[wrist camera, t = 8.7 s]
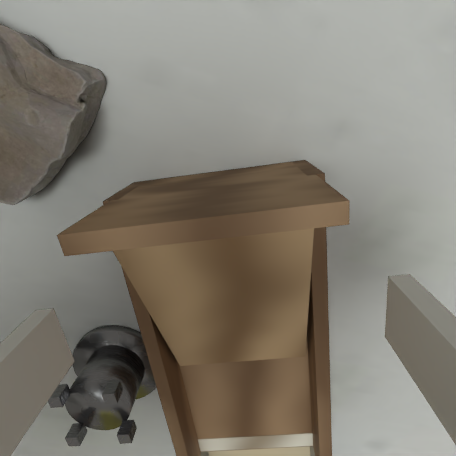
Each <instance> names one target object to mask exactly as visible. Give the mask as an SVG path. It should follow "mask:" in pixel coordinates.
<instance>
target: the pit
mask: <svg viewBox="0 0 456 456" xmlns="http://www.w3.org/2000/svg"><path fill="white" fill-rule="evenodd" d="M200 456H315V453H314V448H313V446H309V447H289V448H269V449H249V450H229V451H209V452H201V455H200Z"/></svg>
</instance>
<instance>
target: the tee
mask: <svg viewBox="0 0 456 456" xmlns="http://www.w3.org/2000/svg"><path fill="white" fill-rule="evenodd" d="M73 358H74V363H73V367H74V371H75V373H76V375H77V376H78V377H77V378H76V380H75V382H74V383H73V385H72V386H71V388H70V389H69V387H68V384H62V385H58V386H57V388H56V389H55V391H54V392H53V394H52V395H51V397H50V398H49V400H48V403H49V405H50V407H51V408H54V407H63V406H64V404H65V406H66V409H67V411H68V413H69V414H70V415H71V416H72V418H74V419H75V420H76V421H77V422H79V423H76V424H73V425H72V426H71V428H70V430H69V432H68V434H67V436H66V437H65V439H66V441H67V443H68V445H69V446H80V445H81V443H82V441H83V439H84V437H85V435H86V433H87V429H86V427H89V428H92V429H97V430H110V429H115V428H117V427H120V429H119V431H118V434H117V437H118V439H119V442H120V444H121V443H132V440H133V437H134V435H135V432H136V429H137V428H136V425H135V422H134V420H127V419H128V417H129V415H130V412H131V409H132V407H133V404H134V401H135V399H139V398H141V397H144V396H146V395H148V394H149V393H151V392H152V391H153V390H154V389H155V388H156V383H155V380H154V376H153V373H152V370H151V366H150V363H149V359H148V356H147V352H146V349H145V345H144V342H143V339H142V335H141V333H140V332H138V331H135V330H133V329H130V328H127V327H122V326H104V327H99V328H96V329H94V330H92V331H90V332H88V333H87V334H86V335H85V336H84V337H83V338H82V339H81V340H80V342H79V343H78V344H77V346H76V348H75V350H74V352H73ZM85 426H86V427H85Z"/></svg>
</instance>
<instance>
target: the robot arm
mask: <svg viewBox="0 0 456 456" xmlns="http://www.w3.org/2000/svg"><path fill="white" fill-rule="evenodd" d="M385 337H386V339H387V340H388V342H389V343H390V345H391V346H392V348H393V350H394V351H395V353H396V354H397V356H398V357H399V359H400V360H401V362H402V363H403V365H404V366H405V368H406V369H407V371H408V373H409V374H410V376H411V377H412V379H413V380H414V382H415V383H416V385H417V386H418V388H419V389H420V391H421V392H422V394H423V395H424V397H425V399H426V400H427V402H428V403H429V405H430V406H431V408H432V409H433V411H434V412H435V414H436V415H437V417H438V418H439V420H440V421H441V423H442V425H443V426H444V428H445V429H446V431H447V432H448V434H449V435H450V437H451V438H452V440H453V441H454V443H455V444H456V317H455V316H454V315H453V314H452V313H451V312H450V311H449V310H448V309H447V308H446V307H444V306H443V305H442V304H441V303H440V302H439V301H438V300H437V299H436V298H435V297H434V296H433V295H432V294H431V293H430V292H428V291H427V290H426V289H425V288H424V287H423V286H422V285H421V284H420V283H419V282H418V281H417V280H416V279H415V278H413V277H412V276H411V275H410V274H407V275H396V276H388V290H387V309H386V327H385ZM73 363H74V358H73V356H72V353H71V351H70V348H69V346H68V343H67V341H66V338H65V336H64V333H63V331H62V328H61V326H60V323H59V321H58V318H57V316H56V313H55V311H54V308H52V309H42V310H35V311H34V312H33V313H32V314H31V315H30V316H29V317H28V318H27V319H26V320H25V321H24V322H23V323H22V324H21V325H19V326H18V327H17V328H16V329H15V330H14V331H13V332H12V333H11V334H10V335H9V336H8V337H7V338H6V339H5V340H4V341H3V342H1V343H0V456H11V454H12V453H13V451H14V450H15V448H16V447H17V445H18V444H19V442H20V441H21V439H22V438H23V436H24V435H25V433H26V432H27V430H28V429H29V428H30V426H31V425H32V423H33V422H34V420H35V419H36V417H37V416H38V414H39V413H40V411H41V410H42V408H43V407H44V405H45V404H46V403H47V401H48V400H49V398H50V397H51V395H52V394H53V392H54V391H55V389H56V388H57V386H58V385H59V383H60V382H61V380H62V379H63V378H64V376H65V375H66V373H67V372H68V370H69V369H70V367H71V366H72V364H73Z"/></svg>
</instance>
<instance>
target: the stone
mask: <svg viewBox="0 0 456 456" xmlns="http://www.w3.org/2000/svg"><path fill="white" fill-rule="evenodd" d="M105 86H106V80H105V77H104V75H103V73H102V72H101V71H100V70H99V69H96V68H92V67H90V66H87V65H83V64H79V63H75V62H73V61H69V60H62V59H59V58H57V57H54V56H53V55H52V54H51V53H50V52H49V49H48V48H47V47H46V46H44V45H43V44H42V43H40V42H39V41H38V40H37V39H35V38H34V37H33V36H29V35H25V34H22V33H19V32H16V31H14V30H12V29H10V28H8V27H6V26H3V25H0V202H2V203H6V204H10V205H15V204H17V203H19V202H21V201H23V200H25V199H27V198H29V197H30V196H32V195H34V194H36V193H37V192H39V191H40V190H42V189H44V188H45V187H46V186H47V184H48V183H50V182H51V181H52V180H53V178H54V177H55V175H56V174H57V173H58V172H59V171H60V169H61V168H62V166H63V165H64V163H65V161H66V159H67V158H68V157H69V156H71V155H72V154H73V152H74V151H75V150H76V148H77V146H78V145H79V144H80V143H81V142H82V140H83V139H84V138H85V137H86V136H87V134H88V132H89V130H90V128H91V126H92V124H93V122H94V120H95V117H96V115H97V112H98V110H99V106H100V101H101V99H102V96H103V94H104V91H105Z"/></svg>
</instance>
